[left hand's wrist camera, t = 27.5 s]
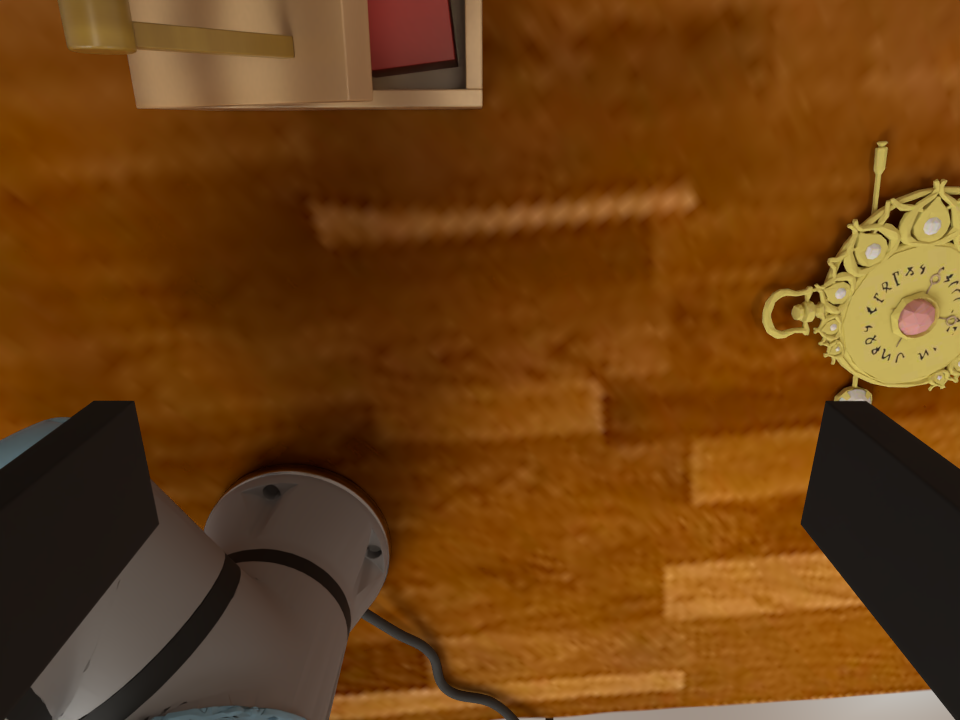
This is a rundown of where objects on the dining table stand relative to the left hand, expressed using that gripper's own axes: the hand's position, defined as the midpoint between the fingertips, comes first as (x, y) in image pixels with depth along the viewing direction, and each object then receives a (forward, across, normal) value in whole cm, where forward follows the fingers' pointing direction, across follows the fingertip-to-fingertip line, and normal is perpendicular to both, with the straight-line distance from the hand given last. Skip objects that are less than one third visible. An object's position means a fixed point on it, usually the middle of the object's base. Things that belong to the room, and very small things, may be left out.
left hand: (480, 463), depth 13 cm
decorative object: (+35, -30, +5) cm, 46 cm away
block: (+34, +4, -12) cm, 36 cm away
